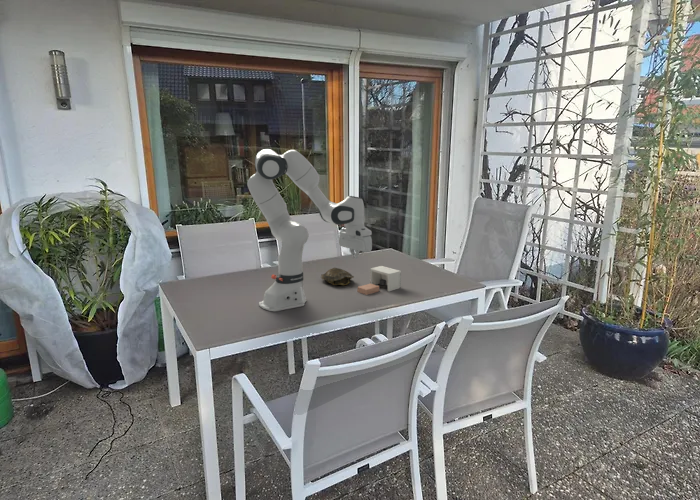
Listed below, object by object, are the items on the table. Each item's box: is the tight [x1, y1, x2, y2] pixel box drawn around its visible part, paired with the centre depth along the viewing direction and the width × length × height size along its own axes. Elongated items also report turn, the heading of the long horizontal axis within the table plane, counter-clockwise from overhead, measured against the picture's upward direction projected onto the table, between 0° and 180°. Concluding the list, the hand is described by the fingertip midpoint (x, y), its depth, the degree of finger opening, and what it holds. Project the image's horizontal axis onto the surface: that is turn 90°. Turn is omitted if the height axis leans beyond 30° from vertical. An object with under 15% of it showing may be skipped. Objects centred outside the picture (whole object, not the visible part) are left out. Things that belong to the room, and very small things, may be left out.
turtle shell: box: [320, 267, 355, 286], centre depth 241 cm, size 16×9×20 cm
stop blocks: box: [379, 279, 386, 286], centre depth 233 cm, size 2×10×2 cm, turn 42°
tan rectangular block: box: [357, 283, 380, 296], centre depth 224 cm, size 9×6×3 cm
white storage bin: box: [369, 265, 402, 292], centre depth 231 cm, size 8×14×9 cm, turn 42°
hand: (354, 258), depth 214 cm, fingers closed
